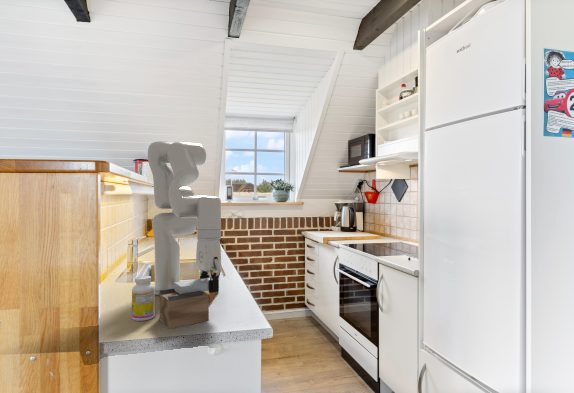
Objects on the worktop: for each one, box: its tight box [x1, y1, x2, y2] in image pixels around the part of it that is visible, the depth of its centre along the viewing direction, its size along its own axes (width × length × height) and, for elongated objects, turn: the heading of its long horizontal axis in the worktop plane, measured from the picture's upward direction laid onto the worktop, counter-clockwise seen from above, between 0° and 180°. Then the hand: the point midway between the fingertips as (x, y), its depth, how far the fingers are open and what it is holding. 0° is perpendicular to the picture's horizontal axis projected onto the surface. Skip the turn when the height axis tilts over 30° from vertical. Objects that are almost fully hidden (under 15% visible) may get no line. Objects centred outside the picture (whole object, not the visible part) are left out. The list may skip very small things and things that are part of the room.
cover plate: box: [174, 277, 210, 294], centre depth 113 cm, size 6×12×2 cm, turn 126°
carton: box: [203, 290, 220, 306], centre depth 133 cm, size 8×16×4 cm, turn 0°
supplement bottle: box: [131, 275, 156, 322], centre depth 112 cm, size 7×7×13 cm
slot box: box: [159, 288, 210, 330], centre depth 110 cm, size 10×12×9 cm
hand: (209, 289), depth 115 cm, fingers closed on cover plate, 6 cm apart
